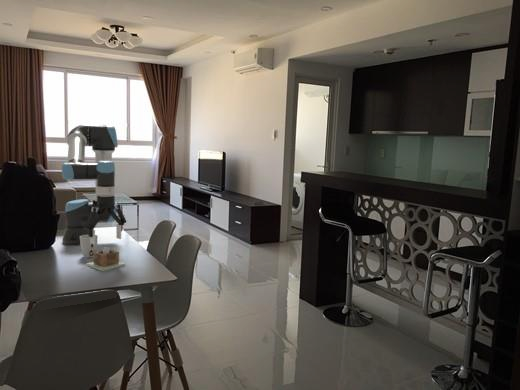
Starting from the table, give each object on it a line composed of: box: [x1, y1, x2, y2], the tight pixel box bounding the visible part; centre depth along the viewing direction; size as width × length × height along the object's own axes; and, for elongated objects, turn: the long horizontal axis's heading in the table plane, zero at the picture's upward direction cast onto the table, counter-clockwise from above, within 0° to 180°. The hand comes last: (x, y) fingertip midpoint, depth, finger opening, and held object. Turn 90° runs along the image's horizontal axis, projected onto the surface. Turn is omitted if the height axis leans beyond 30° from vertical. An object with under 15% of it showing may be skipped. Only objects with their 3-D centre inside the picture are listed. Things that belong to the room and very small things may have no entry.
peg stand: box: [86, 246, 126, 272], centre depth 196 cm, size 12×12×8 cm
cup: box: [79, 234, 98, 258], centre depth 209 cm, size 8×8×10 cm
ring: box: [92, 248, 120, 266], centre depth 196 cm, size 8×8×5 cm
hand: (106, 241), depth 195 cm, fingers open, 13 cm apart
